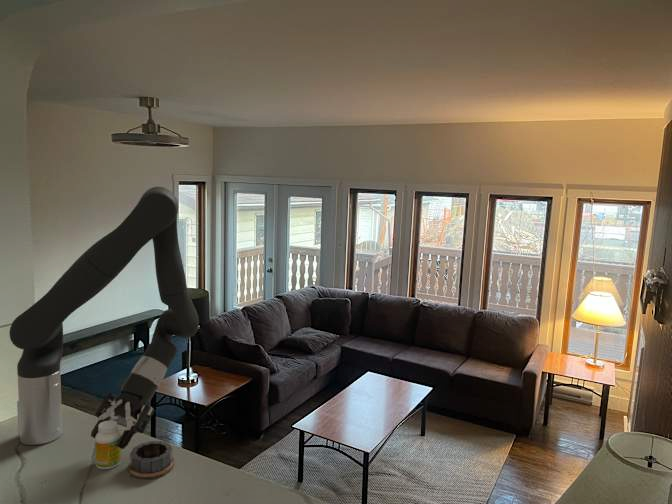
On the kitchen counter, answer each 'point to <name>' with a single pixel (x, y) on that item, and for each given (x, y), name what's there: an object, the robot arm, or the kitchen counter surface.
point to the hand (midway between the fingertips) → (106, 442)
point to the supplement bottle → (107, 445)
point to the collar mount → (151, 460)
